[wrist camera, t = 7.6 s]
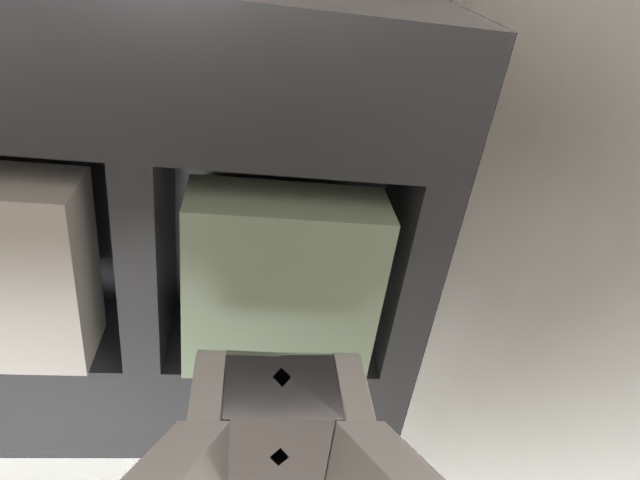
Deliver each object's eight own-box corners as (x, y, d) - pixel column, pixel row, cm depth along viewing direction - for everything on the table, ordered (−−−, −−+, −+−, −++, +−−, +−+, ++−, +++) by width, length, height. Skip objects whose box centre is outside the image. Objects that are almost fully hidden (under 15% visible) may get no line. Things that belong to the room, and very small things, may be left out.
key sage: (383, 187, 13) (400, 226, 11) (354, 333, 15) (365, 382, 13) (190, 173, 12) (179, 212, 10) (190, 327, 14) (181, 378, 13)
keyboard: (441, -4, 14) (517, 33, 10) (366, 343, 20) (393, 458, 16) (-503, -122, 11) (-963, -141, 7) (-261, 323, 17) (-430, 457, 13)
